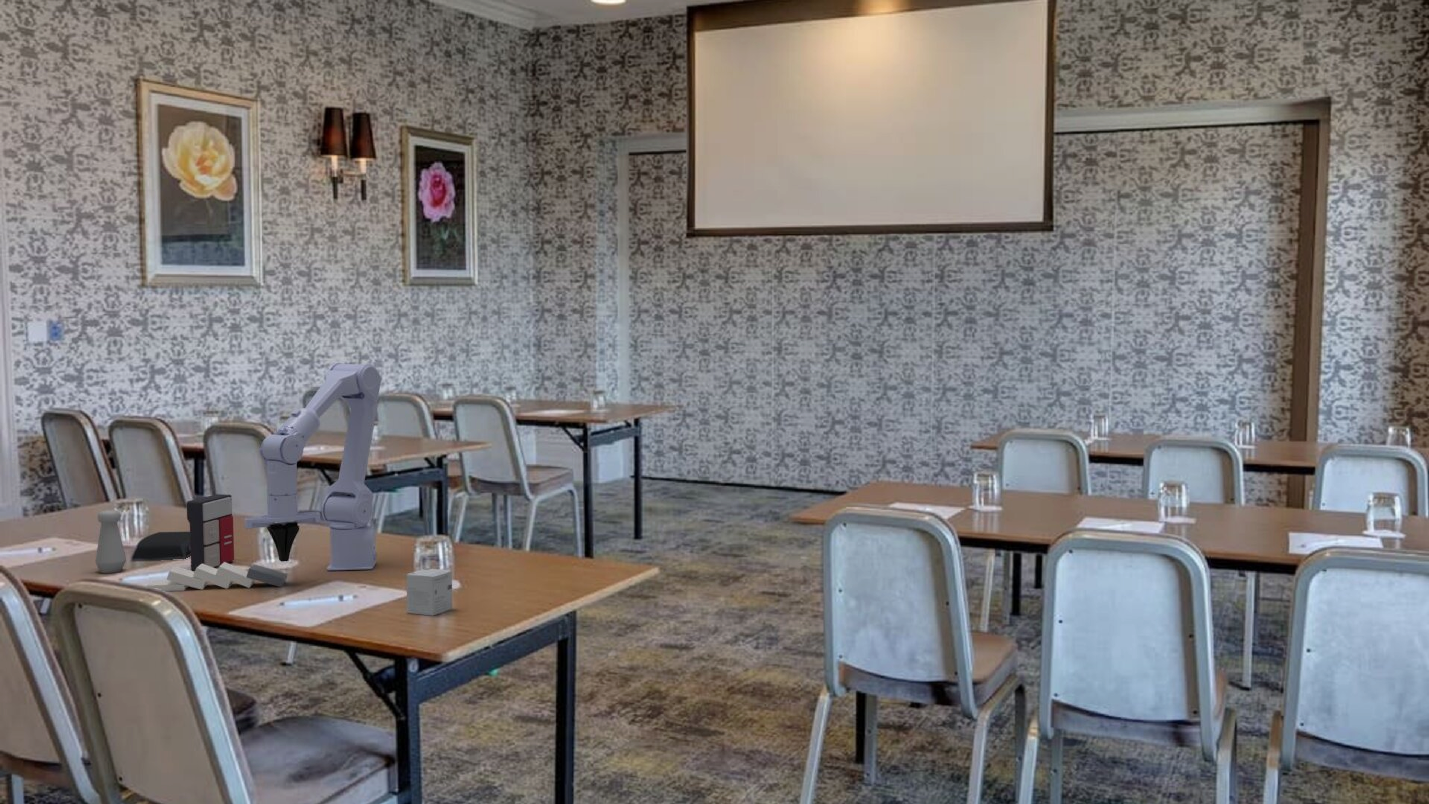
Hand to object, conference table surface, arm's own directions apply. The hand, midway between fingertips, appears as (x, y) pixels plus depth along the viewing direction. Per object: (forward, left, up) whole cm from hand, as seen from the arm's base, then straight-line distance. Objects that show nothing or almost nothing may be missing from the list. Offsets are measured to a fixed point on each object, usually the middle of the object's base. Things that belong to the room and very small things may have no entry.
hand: (283, 560), depth 245 cm
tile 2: (+6, 0, -4) cm, 7 cm away
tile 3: (+10, 0, -4) cm, 11 cm away
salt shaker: (+38, -18, -5) cm, 43 cm away
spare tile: (0, 0, -4) cm, 4 cm away
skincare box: (-31, +26, -5) cm, 41 cm away
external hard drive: (+32, -38, -6) cm, 50 cm away
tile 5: (+19, 0, -5) cm, 19 cm away
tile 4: (+15, 0, -4) cm, 15 cm away
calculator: (+18, -20, -5) cm, 28 cm away
